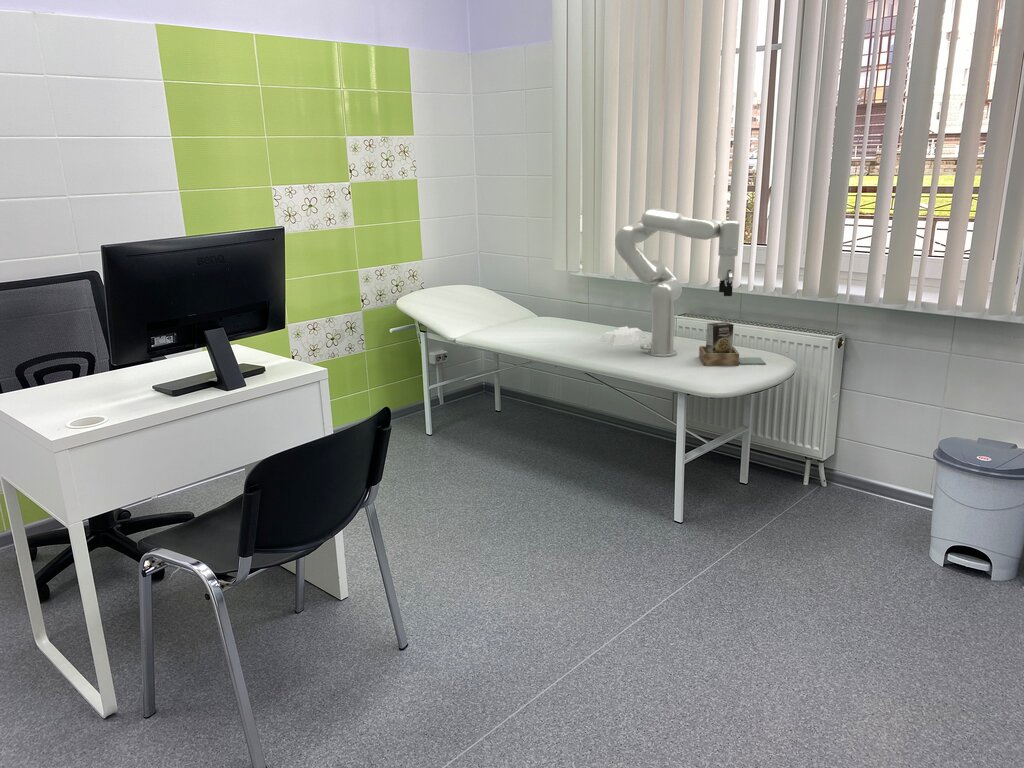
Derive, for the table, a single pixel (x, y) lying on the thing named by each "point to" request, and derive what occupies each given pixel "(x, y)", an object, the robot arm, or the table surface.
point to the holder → (718, 358)
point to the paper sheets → (622, 336)
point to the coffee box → (719, 337)
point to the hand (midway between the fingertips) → (725, 294)
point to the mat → (751, 361)
